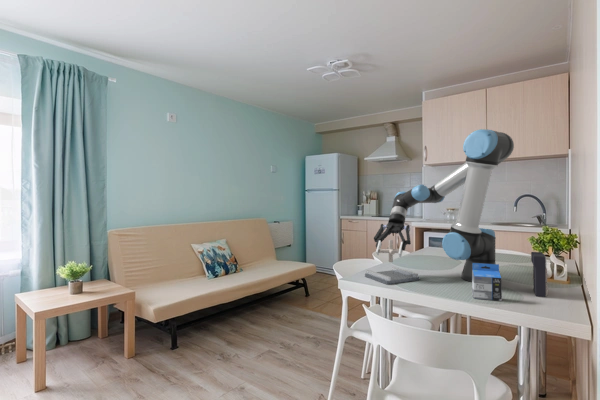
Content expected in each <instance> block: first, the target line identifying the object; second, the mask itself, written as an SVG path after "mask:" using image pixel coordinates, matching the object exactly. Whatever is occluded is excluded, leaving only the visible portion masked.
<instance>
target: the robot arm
mask: <svg viewBox="0 0 600 400" xmlns="http://www.w3.org/2000/svg"><path fill="white" fill-rule="evenodd" d="M514 148H515V143H514V140H513V138H512V137H511V136H510V135H509V134H507V133H505V132H500V131H496V130H492V129H485V128H484V129H482V128H481V129H477V130H474V131H472V132H471V133H469V134H468V135H467V136H466V137H465V139H464V141H463V147H462V149H463V150H462V151H463V153H465V157H466V158H465V162H464V163H463V164H461V165H460V166H458V167H457V168H456V169H454V170H453V171H451V172H450V173H448V175H446V176H445V177H443V178H442V179H440V180H439V181H437V182H436V183H435V184H434V185H432V186H430V187H427V186H426V185H425V184H418V185H416V186H414V187H412V188H410V189H409V190H408V191H399V192H397V193H396V194H395V196H394V198H393V203H392V208H391V211H390V214H389V218H388V222H387V224H383V223H381V224H380V227H379V229H378V231H377V232H376V234H375V235H374V237H373V240H374V243H375V248H376V249H375V253H376V256H379V255H380V253H379V249H382V245H383V243H382V242H383V241H384V240H385V239H386V238H387V237H388V236H390V235H391V234H398V235H399V237H400V239H401V241H400V246H399V248H398V249H399V253H397V254H398V258H402V255H403V251H406V247H407V246H408V245H409V246H410V245H411V243H412V242H411V235H410V231H411V226H410V224H406V225H405V222H406V218H407V213H408V210H409V208H411V207H413V206H416V205H418V204H438V203H442V202H443V201H444V199H445V198H446V196H448V195H449V194H450V193H452V192H455V190H457V189H458V188H460V187H462V186H463V188H462V189H463V190H462V195H461V199H460V203H459V208H458V213H457V216H456V221H455V222H454V223H452V224H451V225H450V230H449V232H448V233H446V234H445V235H443V238H442V243H441V247H442V250H443V251H444V253H445V255H446V256H447V257H449V258H450V259H453V260H456V261H465V263H464V266H463V269H462V271H461V279H462V280H463V281H464V280H465V281H468V282H470V283H472V270H473V267H472V266H473V265H472V263H482V264H497V263H496V240H497V239H496V232H495V230H494V229H492V228H491V229H490V228H482V227H480V226H479V225H480V223H481V217H482V213H483V209H484V206H485V205H484V204H485V202H486V197H487V192H488V189H489V183H490V182H491V181H490V180H491V176H492V171H493V170H494V169H495V168H497V167H498V165H499V164H501V163H503V162H504V161H506V159H508V158H509V157H510V156H511V155H512V154H513V151H514ZM384 230H385V231H384ZM403 230H404V231H405V234H406V239H405V237H404V234H403V233H402V231H403ZM481 268H485V269H490V267H487V266H485V267H481Z"/></svg>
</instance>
